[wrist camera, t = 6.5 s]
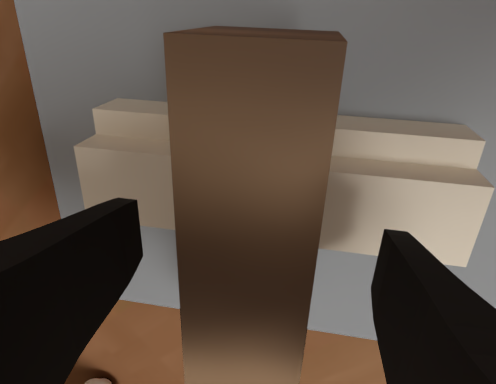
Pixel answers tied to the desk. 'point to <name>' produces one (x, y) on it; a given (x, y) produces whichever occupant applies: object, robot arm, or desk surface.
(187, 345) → the walnut bar
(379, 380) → the desk surface
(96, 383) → the lightbulb
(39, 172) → the desk surface
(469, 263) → the ridge stand
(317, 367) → the desk surface
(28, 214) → the desk surface
